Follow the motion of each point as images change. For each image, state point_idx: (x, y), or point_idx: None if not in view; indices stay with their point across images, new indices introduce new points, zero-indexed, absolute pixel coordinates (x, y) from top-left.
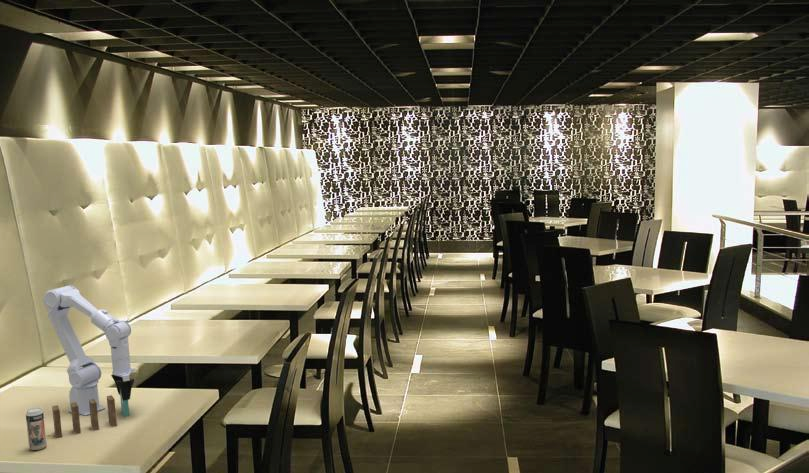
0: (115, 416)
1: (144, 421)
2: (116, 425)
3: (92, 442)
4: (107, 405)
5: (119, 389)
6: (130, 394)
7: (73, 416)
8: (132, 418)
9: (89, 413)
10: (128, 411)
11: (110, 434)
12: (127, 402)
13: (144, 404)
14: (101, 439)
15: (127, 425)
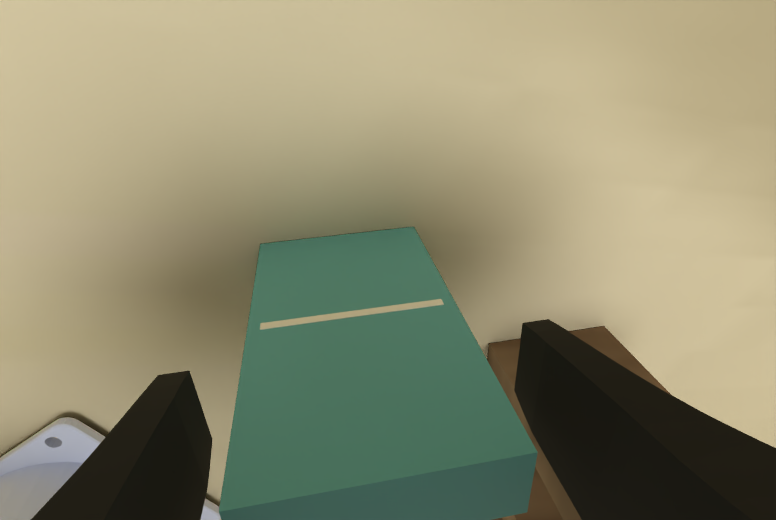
0: (655, 383)
1: (686, 112)
2: (605, 330)
3: (756, 433)
4: (558, 504)
5: (187, 512)
6: (606, 356)
7: None
8: (518, 207)
9: (204, 503)
10: (424, 252)
11: (728, 359)
12: (454, 312)
13: (35, 3)
14: (758, 398)
15: (659, 257)
